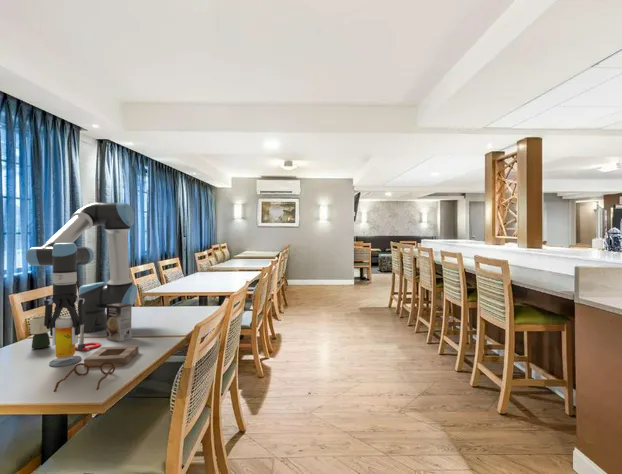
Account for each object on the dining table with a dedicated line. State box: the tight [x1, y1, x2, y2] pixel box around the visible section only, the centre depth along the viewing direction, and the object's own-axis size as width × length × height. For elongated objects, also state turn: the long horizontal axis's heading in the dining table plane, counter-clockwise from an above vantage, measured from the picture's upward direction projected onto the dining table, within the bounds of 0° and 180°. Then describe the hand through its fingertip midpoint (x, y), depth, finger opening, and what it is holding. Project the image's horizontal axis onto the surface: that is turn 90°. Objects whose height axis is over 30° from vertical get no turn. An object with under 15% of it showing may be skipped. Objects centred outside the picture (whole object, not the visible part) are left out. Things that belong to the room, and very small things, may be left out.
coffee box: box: [105, 303, 132, 342], centre depth 160 cm, size 9×6×16 cm
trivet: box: [48, 355, 82, 368], centre depth 132 cm, size 10×10×1 cm
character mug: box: [29, 315, 51, 349], centre depth 148 cm, size 11×7×13 cm, turn 31°
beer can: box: [54, 315, 76, 359], centre depth 131 cm, size 6×6×15 cm
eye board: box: [83, 345, 140, 369], centre depth 134 cm, size 14×14×3 cm
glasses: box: [53, 362, 116, 393], centre depth 114 cm, size 13×13×5 cm
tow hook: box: [75, 324, 102, 352], centre depth 149 cm, size 8×13×9 cm
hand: (65, 343), depth 132 cm, fingers closed on beer can, 6 cm apart
